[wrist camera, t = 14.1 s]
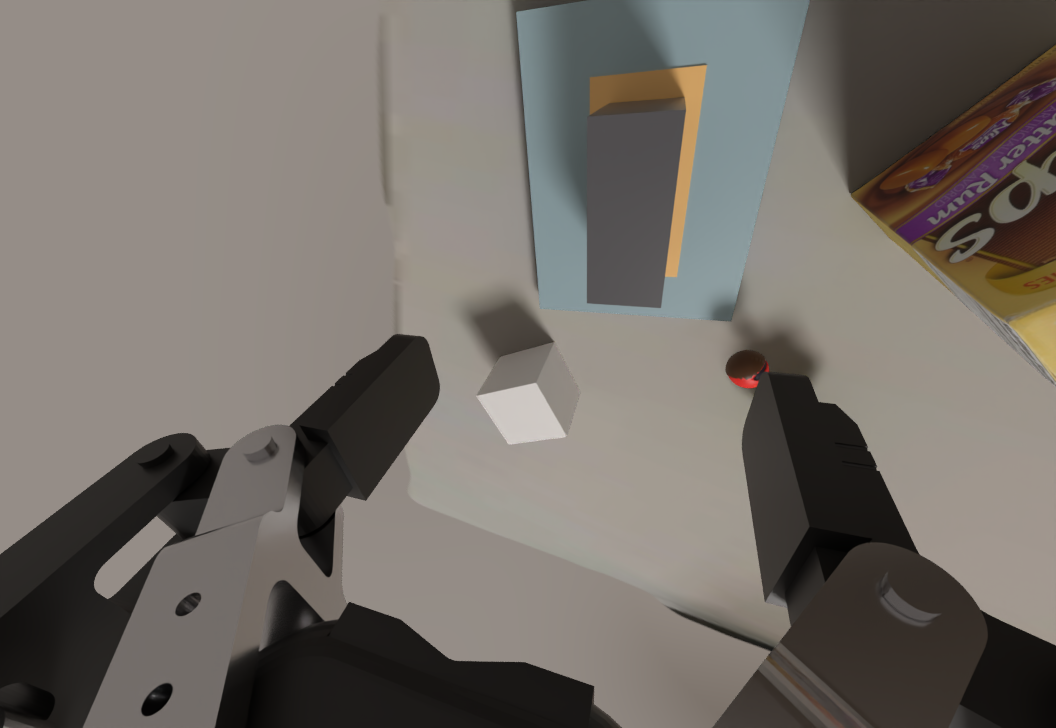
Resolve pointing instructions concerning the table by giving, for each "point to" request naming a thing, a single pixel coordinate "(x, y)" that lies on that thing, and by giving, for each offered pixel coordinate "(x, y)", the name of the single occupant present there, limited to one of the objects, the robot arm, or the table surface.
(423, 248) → the table surface
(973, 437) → the table surface
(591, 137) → the block
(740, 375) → the toy figure
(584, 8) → the pin board
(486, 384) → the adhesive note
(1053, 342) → the candy box
